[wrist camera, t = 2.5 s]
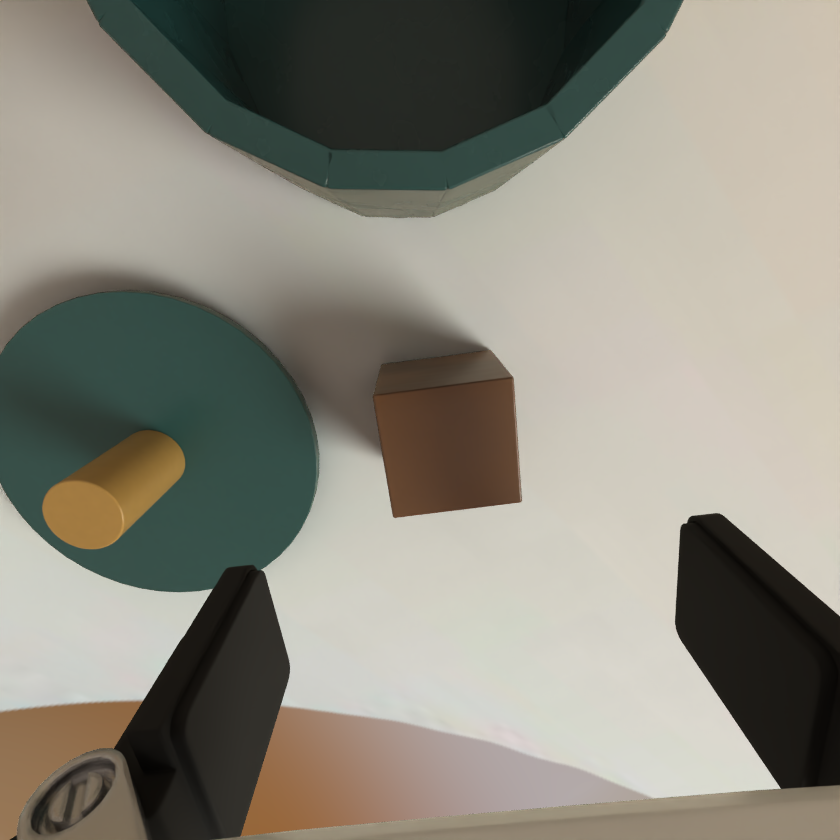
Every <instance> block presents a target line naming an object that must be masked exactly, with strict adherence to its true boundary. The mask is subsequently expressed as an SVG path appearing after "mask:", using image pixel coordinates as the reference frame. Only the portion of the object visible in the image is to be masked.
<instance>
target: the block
mask: <svg viewBox="0 0 840 840" xmlns="http://www.w3.org/2000/svg"><path fill="white" fill-rule="evenodd" d="M373 402H374V408H375V414H376V419H377V425H378V431H379V437H380V443H381V449H382V455H383V461H384V467H385V472H386V478H387V484H388V490H389V496H390V502H391V508H392V514H393V517H394V518H397V517H405V516H413V515H422V514H430V513H438V512H446V511H454V510H462V509H470V508H478V507H486V506H494V505H503V504H511V503H519V502H521V501H522V495H521V480H520V465H519V451H518V436H517V421H516V406H515V392H514V378H513V377H512V375H511V374H510V373H509V372H508V370H507V369H506V368H505V367H504V366H503V364H502V363H501V362H500V361H499V359H498V358H497V357H496V356H495V354H494V353H493V352H492V351H491V350H487V351H479V352H471V353H464V354H456V355H449V356H441V357H434V358H426V359H418V360H411V361H403V362H396V363H388V364H382V365H381V368H380V371H379V375H378V379H377V382H376V386H375V390H374V394H373Z"/></svg>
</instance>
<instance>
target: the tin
mask: <svg viewBox="0 0 840 840" xmlns="http://www.w3.org/2000/svg"><path fill="white" fill-rule="evenodd" d="M86 1H87V2H88V4H89V6H90V8H91V10H92V12H93V14H94V16H95V18H96V20H97V21H98V22H99V25H100V27H101V28H102V29H103V30H104V31H105V32H106V33H107V34H108V35H109V36H110V37H111V38H112V39H113V40H114V41H115V42H116V43H117V44H118V45H119V46H120V47H121V48H122V49H123V50H124V51H125V52H126V53H127V54H128V55H129V56H130V57H131V58H132V59H133V60H134V61H135V62H136V63H137V64H138V65H139V66H140V67H141V68H142V69H143V70H144V71H145V72H146V73H147V74H148V75H149V76H150V77H151V78H152V79H153V80H154V81H155V82H156V83H157V84H158V85H159V86H160V87H161V88H162V89H163V90H164V91H165V92H166V93H167V94H168V95H169V96H170V97H171V98H172V99H173V101H174V102H175V103H176V104H177V105H178V106H179V107H180V108H181V109H182V110H183V111H184V112H185V113H186V114H187V115H188V116H189V117H190V118H191V119H192V120H193V121H194V122H195V123H196V124H197V125H198V126H199V127H200V128H201V129H202V130H203V131H204V132H205V133H207V134H209V135H210V136H212V137H213V138H215V139H217V140H218V141H220V142H222V143H224V144H225V145H227V146H229V147H231V148H232V149H234V150H236V151H238V152H239V153H241V154H243V155H244V156H246V157H248V158H250V159H251V160H253V161H255V162H257V163H258V164H260V165H262V166H263V167H265V168H267V169H269V170H270V171H272V172H274V173H276V174H277V175H279V176H281V177H282V178H284V179H286V180H288V181H289V182H291V183H293V184H295V185H296V186H298V187H300V188H302V189H304V190H306V191H308V192H311V193H313V194H315V195H317V196H319V197H322V198H324V199H326V200H328V201H330V202H332V203H334V204H337V205H339V206H341V207H344V208H346V209H348V210H350V211H352V212H355V213H357V214H359V215H361V216H365V217H392V218H407V217H429V218H430V217H435V216H437V215H439V214H441V213H444V212H446V211H448V210H451V209H453V208H455V207H458V206H461V205H463V204H465V203H467V202H469V201H471V200H474V199H476V198H478V197H481V196H483V195H485V194H488V193H490V192H492V191H494V190H496V189H497V188H499V187H500V186H502V185H503V184H504V183H506V182H507V181H508V180H510V179H511V178H512V177H514V176H515V175H516V174H518V173H519V172H520V171H522V170H523V169H525V168H526V167H527V166H529V165H530V164H531V163H533V162H534V161H535V160H537V159H538V158H539V157H541V156H542V155H544V154H545V153H546V152H548V151H549V150H550V149H552V148H553V147H554V146H556V145H557V144H558V143H560V142H561V141H562V140H564V139H565V138H566V137H567V136H568V135H569V134H570V133H571V132H572V131H573V130H574V129H575V128H576V127H577V126H578V125H579V124H580V123H581V122H582V121H583V120H584V119H585V118H586V117H587V116H588V115H589V114H590V113H591V112H592V111H593V110H594V109H595V108H596V107H597V106H598V105H599V104H600V103H601V102H602V101H603V100H604V99H605V98H606V97H607V96H608V95H609V94H610V93H611V92H612V91H613V90H614V89H615V88H616V87H617V86H618V85H619V84H620V83H621V82H622V80H623V79H624V78H625V77H626V76H627V75H628V74H629V73H630V72H631V71H632V70H633V69H634V68H635V67H636V66H637V65H638V64H639V63H640V62H641V61H642V60H643V59H644V58H645V57H646V56H647V55H648V54H649V53H650V52H651V51H652V50H653V49H654V48H655V47H656V46H657V45H658V44H659V43H660V42H661V41H662V40H663V39H664V38H665V36H666V33H667V32H668V31H669V29H670V27H671V25H672V23H673V21H674V19H675V17H676V15H677V13H678V11H679V9H680V7H681V5H682V3H683V1H684V0H86Z"/></svg>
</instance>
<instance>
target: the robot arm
mask: <svg viewBox="0 0 840 840" xmlns="http://www.w3.org/2000/svg"><path fill="white" fill-rule="evenodd" d="M675 625H676V630H677V633H678V635H679V638H680V639H681V641H682V643H683V644H684V646H685V647H686V649H687V650H688V652H689V653H690V654H691V656H692V657H693V659H694V660H695V662H696V663H697V665H698V666H699V668H700V669H701V671H702V672H703V674H704V675H705V677H706V678H707V680H708V681H709V683H710V684H711V686H712V687H713V689H714V690H715V692H716V693H717V695H718V696H719V697H720V699H721V700H722V702H723V703H724V705H725V706H726V708H727V709H728V711H729V712H730V714H731V715H732V717H733V718H734V720H735V721H736V723H737V724H738V726H739V727H740V729H741V730H742V732H743V733H744V735H745V736H746V737H747V739H748V740H749V742H750V743H751V745H752V746H753V748H754V749H755V751H756V752H757V754H758V755H759V757H760V758H761V760H762V761H763V763H764V764H765V766H766V767H767V769H768V770H769V772H770V773H771V775H772V776H773V778H774V779H775V780H776V782H777V783H778V785H779V786H780V788H781V789H772V790H755V791H742V792H730V793H717V794H705V795H693V796H680V797H668V798H656V799H643V800H631V801H619V802H606V803H595V804H583V805H572V806H560V807H548V808H537V809H526V810H514V811H502V812H492V813H481V814H468V815H457V816H446V817H435V818H423V819H413V820H402V821H391V822H381V823H370V824H360V825H348V826H338V827H327V828H317V829H306V830H295V831H287V832H277V833H268V834H259V835H251V836H242V837H240V835H241V833H242V829H243V826H244V823H245V820H246V816H247V813H248V810H249V807H250V803H251V800H252V797H253V794H254V790H255V787H256V784H257V781H258V777H259V774H260V771H261V767H262V764H263V761H264V758H265V755H266V751H267V748H268V745H269V741H270V738H271V735H272V732H273V728H274V725H275V722H276V719H277V715H278V712H279V709H280V706H281V702H282V699H283V696H284V693H285V689H286V686H287V683H288V679H289V674H290V663H289V659H288V655H287V651H286V648H285V644H284V641H283V637H282V633H281V630H280V626H279V623H278V619H277V615H276V612H275V608H274V605H273V601H272V597H271V594H270V590H269V587H268V583H267V580H266V576H265V573H264V572H263V571H262V570H258V571H257V568H256V567H255V566H254V565H244V566H235V567H228V568H226V569H225V571H224V572H223V574H222V575H221V577H220V579H219V580H218V582H217V584H216V585H215V587H214V588H213V590H212V592H211V593H210V595H209V597H208V598H207V600H206V601H205V603H204V605H203V606H202V608H201V610H200V611H199V613H198V614H197V616H196V618H195V619H194V621H193V623H192V624H191V626H190V627H189V629H188V631H187V632H186V634H185V636H184V637H183V638H182V639H181V641H180V642H179V644H178V645H177V647H176V649H175V650H174V652H173V654H172V655H171V657H170V658H169V660H168V662H167V663H166V665H165V667H164V668H163V670H162V671H161V673H160V675H159V676H158V678H157V680H156V681H155V683H154V684H153V686H152V688H151V689H150V691H149V692H148V694H147V696H146V697H145V699H144V701H143V702H142V704H141V705H140V707H139V709H138V710H137V712H136V714H135V715H134V717H133V718H132V720H131V722H130V723H129V725H128V727H127V728H126V730H125V731H124V733H123V735H122V736H121V738H120V740H119V741H118V743H117V745H116V746H115V748H114V749H112V748H107V749H106V748H103V749H97V750H93V751H90V752H86V753H85V754H82V755H80V756H78V757H76V758H74V759H72V760H70V761H69V762H68V763H66V764H65V765H63V766H62V767H60V768H59V769H58V770H56V771H55V772H54V773H52V774H51V775H50V777H48V778H47V779H46V780H45V781H44V782H43V783H42V784H41V785H40V786H39V787H38V788H37V790H36V791H35V792H34V793H33V795H32V796H31V797H30V799H29V800H28V801H27V803H26V805H25V807H24V809H23V811H22V813H21V815H20V817H19V822H18V827H17V835H16V836H15V837H13V838H12V839H10V840H840V616H839V615H838V614H836V613H835V612H834V611H833V610H832V609H831V608H829V607H828V606H827V605H826V604H825V603H824V602H823V601H821V600H820V599H819V598H818V597H817V596H816V595H814V594H813V593H812V592H811V591H810V590H809V589H807V588H806V587H805V586H804V585H803V584H802V583H801V582H799V581H798V580H797V579H796V578H795V577H794V576H792V575H791V574H790V573H789V572H788V571H787V570H786V569H784V568H783V567H782V566H781V565H780V564H779V563H777V562H776V561H775V560H774V559H773V558H772V557H771V556H769V555H768V554H767V553H766V552H765V551H764V550H762V549H761V548H760V547H759V546H758V545H757V544H755V543H754V542H753V541H752V540H751V539H750V538H749V537H747V536H746V535H745V534H744V533H743V532H742V531H740V530H739V529H738V528H737V527H736V526H735V525H734V524H732V523H731V522H730V521H729V520H728V519H727V518H725V517H724V516H723V515H721V514H718V513H715V514H706V515H697V516H691V517H689V519H688V522H687V523H686V524H683V525H682V526H681V529H680V545H679V562H678V580H677V598H676V615H675Z"/></svg>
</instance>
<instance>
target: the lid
mask: <svg viewBox="0 0 840 840" xmlns="http://www.w3.org/2000/svg"><path fill="white" fill-rule="evenodd" d="M318 477H319V449H318V441H317V435H316V431H315V427H314V424H313V420H312V417H311V414H310V412H309V409H308V407H307V405H306V402H305V400H304V398H303V396H302V394H301V392H300V390H299V389H298V387H297V385H296V384H295V382H294V380H293V379H292V377H291V376H290V374H289V373H288V372H287V370H286V369H285V368H284V367H283V365H282V364H281V363H280V361H279V360H278V359H277V358H276V357H275V356H274V355H273V354H272V353H271V352H270V351H269V350H268V349H267V348H266V347H265V346H264V345H263V344H262V343H261V342H260V341H259V340H258V339H256V338H255V337H254V336H253V335H251V334H250V333H249V332H248V331H246V330H245V329H244V328H243V327H241V326H239V325H238V324H236V323H235V322H233V321H231V320H230V319H228V318H227V317H225V316H223V315H222V314H219V313H217V312H215V311H213V310H211V309H209V308H207V307H205V306H203V305H200V304H197V303H194V302H191V301H189V300H186V299H183V298H180V297H176V296H171V295H166V294H161V293H156V292H147V291H134V290H126V291H109V292H101V293H95V294H90V295H86V296H81V297H76V298H74V299H71V300H68V301H65V302H63V303H60V304H57V305H55V306H53V307H51V308H50V309H48V310H46V311H44V312H42V313H41V314H39V315H37V316H36V317H35V318H33V319H32V320H31V321H30V322H28V323H27V324H26V325H25V326H23V327H22V328H21V329H20V330H19V331H18V332H17V333H16V334H15V336H14V337H13V338H12V339H11V340H10V341H9V342H8V343H7V345H6V346H5V348H4V350H3V351H2V353H1V354H0V483H1V485H2V487H3V489H4V491H5V493H6V495H7V496H8V498H9V499H10V501H11V502H12V504H13V505H14V506H15V508H16V509H17V511H18V512H19V514H20V515H21V516H22V517H23V518H24V519H25V520H26V522H27V523H28V524H29V525H30V526H31V527H32V528H33V530H35V531H36V532H37V533H38V534H39V535H40V536H41V537H42V538H43V539H44V540H45V541H46V542H47V543H49V544H50V545H51V546H53V547H54V548H55V549H56V550H58V551H59V552H60V553H62V554H63V555H64V556H66V557H67V558H69V559H71V560H72V561H74V562H76V563H77V564H79V565H81V566H82V567H84V568H86V569H88V570H90V571H92V572H94V573H96V574H99V575H101V576H103V577H106V578H108V579H111V580H114V581H117V582H119V583H122V584H126V585H130V586H134V587H138V588H142V589H149V590H155V591H166V592H192V591H202V590H208V589H213V588H214V587H215V585H216V584H217V582H218V580H219V579H220V577H221V575H222V574H223V572H224V571H225V569H226V568H228V567H235V566H244V565H254V566H255V567H256V568H257V571H258V570H261V569H263V568H264V567H266V566H267V565H268V564H270V563H271V562H272V561H273V560H275V559H276V558H277V557H278V556H280V555H281V554H282V552H283V551H284V550H285V549H286V548H287V547H288V546H289V545H290V544H291V543H292V541H293V540H294V538H295V537H296V536H297V534H298V533H299V531H300V530H301V528H302V526H303V524H304V522H305V520H306V518H307V516H308V514H309V512H310V509H311V506H312V503H313V500H314V497H315V493H316V490H317V483H318Z"/></svg>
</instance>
